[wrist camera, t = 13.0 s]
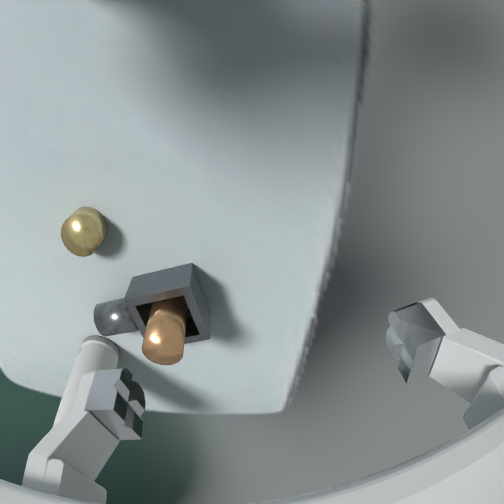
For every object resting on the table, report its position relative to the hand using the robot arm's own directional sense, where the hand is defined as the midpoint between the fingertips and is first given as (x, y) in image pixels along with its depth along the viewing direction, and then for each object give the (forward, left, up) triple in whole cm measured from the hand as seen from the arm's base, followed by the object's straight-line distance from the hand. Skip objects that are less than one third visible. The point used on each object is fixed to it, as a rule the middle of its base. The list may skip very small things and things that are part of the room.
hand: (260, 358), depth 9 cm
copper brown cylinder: (+14, -11, -27) cm, 32 cm away
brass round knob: (+2, -18, -27) cm, 32 cm away
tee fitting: (+14, -14, -27) cm, 33 cm away
